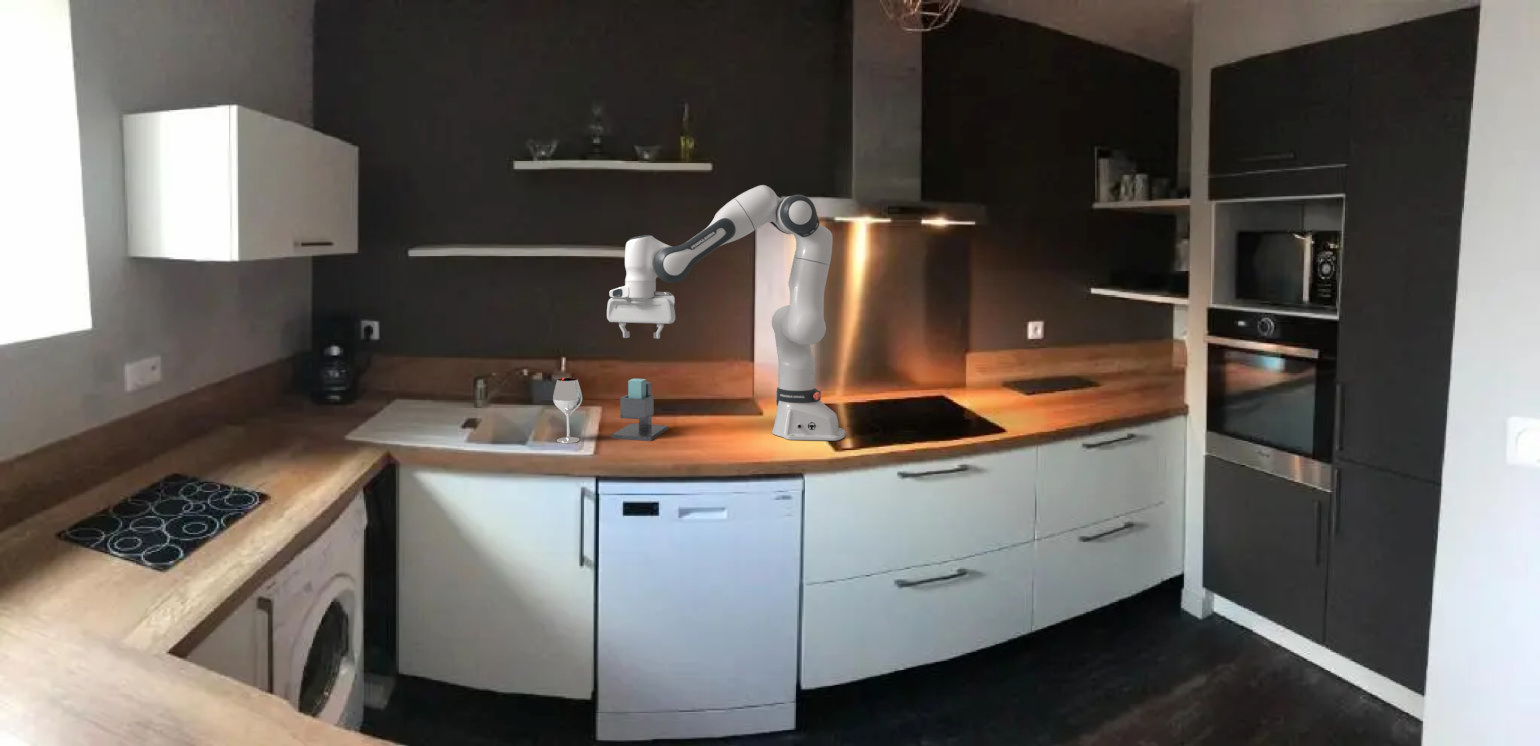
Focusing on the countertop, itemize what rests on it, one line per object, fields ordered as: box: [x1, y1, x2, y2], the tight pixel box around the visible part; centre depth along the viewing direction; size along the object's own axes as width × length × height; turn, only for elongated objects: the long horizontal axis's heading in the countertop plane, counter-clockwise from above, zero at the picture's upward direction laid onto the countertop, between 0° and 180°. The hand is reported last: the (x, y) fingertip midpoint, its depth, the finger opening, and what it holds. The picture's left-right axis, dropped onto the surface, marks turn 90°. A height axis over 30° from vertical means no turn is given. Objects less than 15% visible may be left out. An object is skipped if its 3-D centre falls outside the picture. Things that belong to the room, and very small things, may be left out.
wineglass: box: [552, 377, 583, 444], centre depth 249 cm, size 8×8×18 cm
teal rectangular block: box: [627, 378, 647, 399], centre depth 256 cm, size 4×4×10 cm
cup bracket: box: [611, 381, 669, 442], centre depth 259 cm, size 12×16×15 cm
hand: (641, 338), depth 254 cm, fingers open, 8 cm apart
